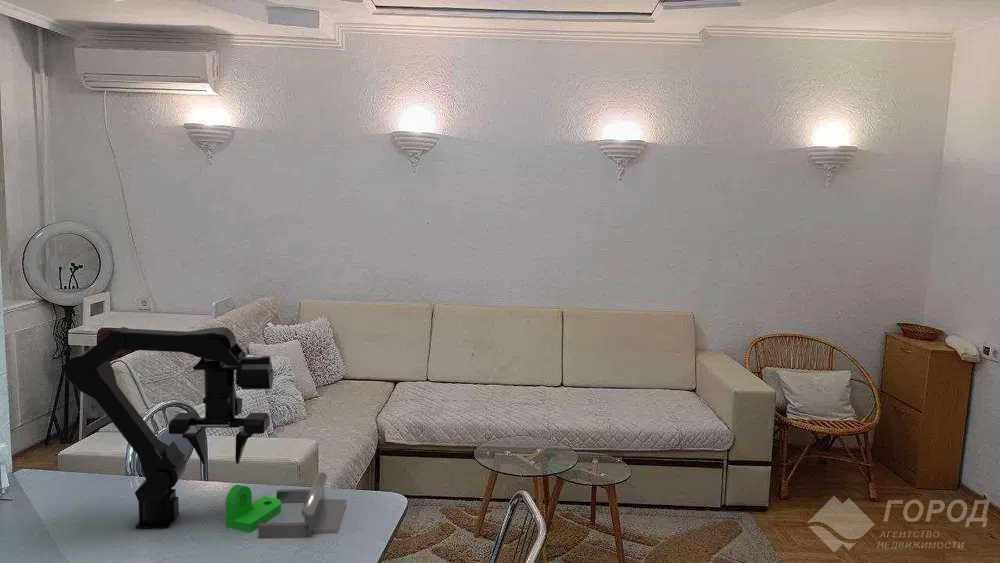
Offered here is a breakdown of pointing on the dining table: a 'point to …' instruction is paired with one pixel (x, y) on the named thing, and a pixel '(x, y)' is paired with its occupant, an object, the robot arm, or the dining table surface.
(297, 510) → the dining table surface
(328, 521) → the bracket
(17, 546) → the dining table surface
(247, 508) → the mechanical part
